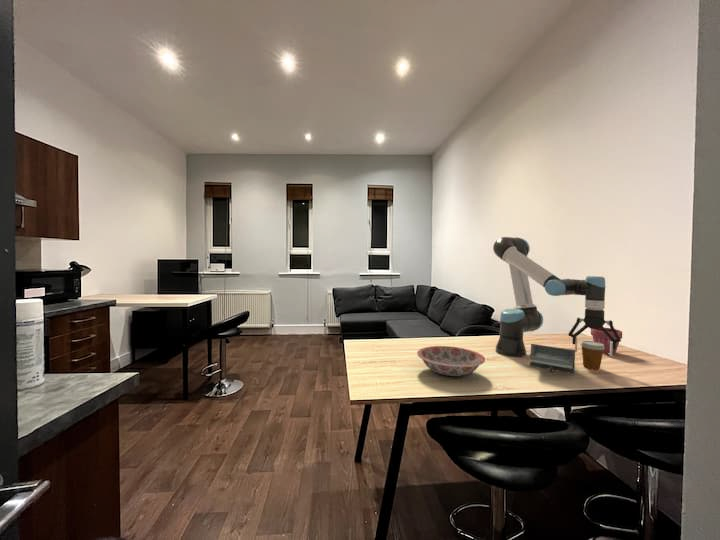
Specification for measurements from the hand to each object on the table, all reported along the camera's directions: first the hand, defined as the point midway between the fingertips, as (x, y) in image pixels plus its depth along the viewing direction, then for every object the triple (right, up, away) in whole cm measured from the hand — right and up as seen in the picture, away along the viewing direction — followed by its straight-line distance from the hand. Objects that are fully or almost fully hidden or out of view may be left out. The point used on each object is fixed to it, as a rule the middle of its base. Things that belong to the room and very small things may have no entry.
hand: (593, 353), depth 157 cm
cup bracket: (-23, -7, -6) cm, 25 cm away
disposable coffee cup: (0, -7, +1) cm, 7 cm away
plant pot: (+27, -7, +28) cm, 40 cm away
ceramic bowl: (-71, -6, -9) cm, 72 cm away
